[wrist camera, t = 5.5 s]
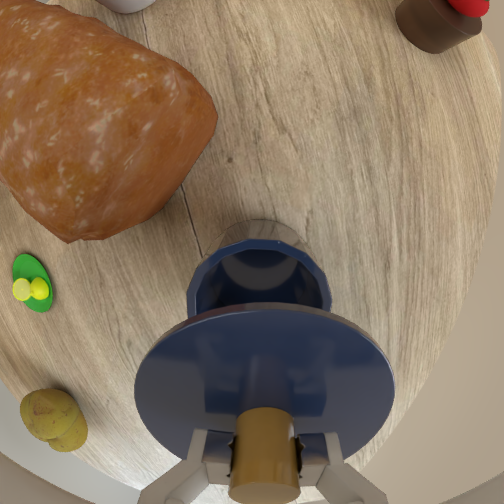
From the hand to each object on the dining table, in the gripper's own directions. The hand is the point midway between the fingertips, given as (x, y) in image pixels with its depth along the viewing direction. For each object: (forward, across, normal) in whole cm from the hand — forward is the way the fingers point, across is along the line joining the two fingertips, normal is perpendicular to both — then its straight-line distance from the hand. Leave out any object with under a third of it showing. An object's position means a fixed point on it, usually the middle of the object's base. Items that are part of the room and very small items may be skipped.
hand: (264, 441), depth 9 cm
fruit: (+19, +30, +25) cm, 43 cm away
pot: (+19, 0, 0) cm, 19 cm away
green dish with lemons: (+19, +29, +4) cm, 35 cm away
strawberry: (+12, -16, -28) cm, 35 cm away
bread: (+19, +18, -16) cm, 31 cm away
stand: (+19, -16, -28) cm, 38 cm away
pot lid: (+2, 0, 0) cm, 2 cm away
